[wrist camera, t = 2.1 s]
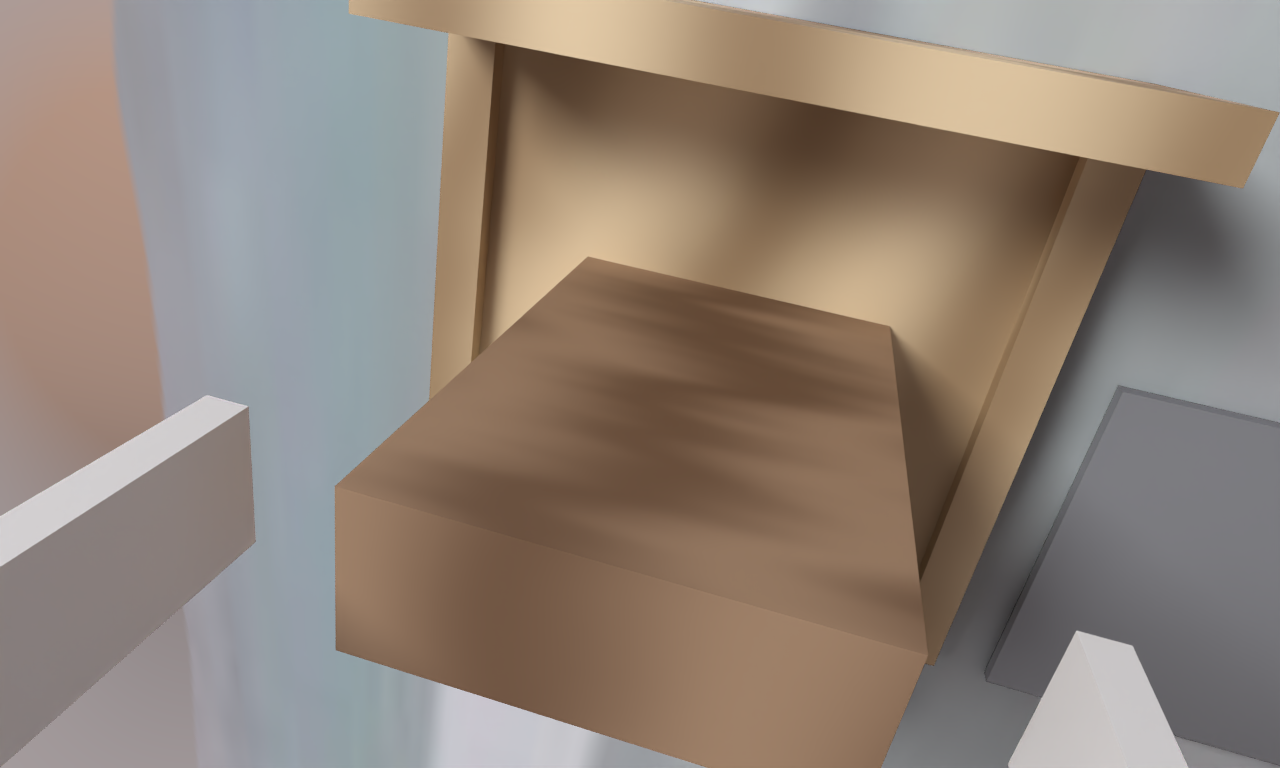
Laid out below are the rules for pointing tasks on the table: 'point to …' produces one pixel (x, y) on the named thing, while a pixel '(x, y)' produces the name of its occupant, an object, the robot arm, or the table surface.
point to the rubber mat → (1167, 569)
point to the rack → (810, 202)
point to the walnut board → (653, 526)
